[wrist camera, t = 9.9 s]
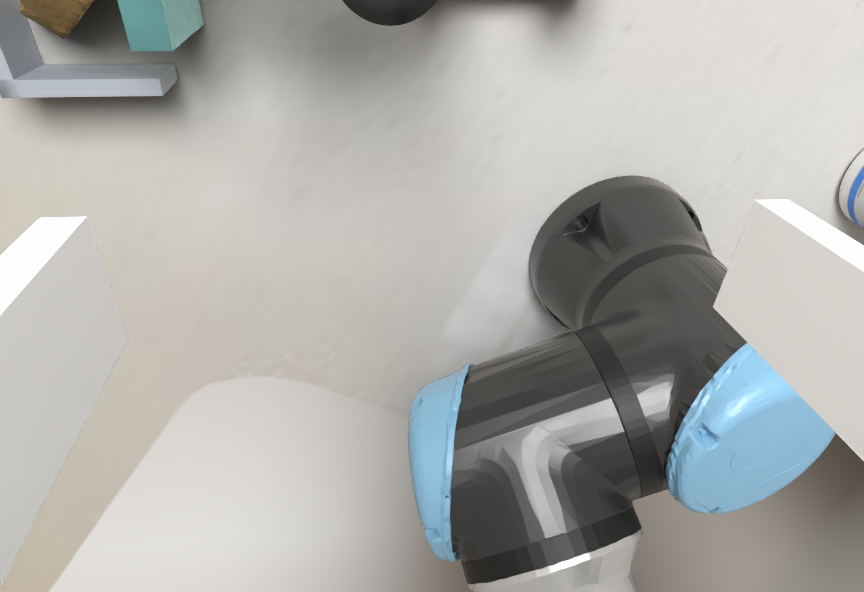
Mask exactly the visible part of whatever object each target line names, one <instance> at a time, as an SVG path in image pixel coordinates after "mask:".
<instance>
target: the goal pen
mask: <svg viewBox="0 0 864 592" xmlns="http://www.w3.org/2000/svg"><path fill="white" fill-rule="evenodd" d="M19 5H20V1H19V0H0V94H1V97H2V98H34V97H113V96H163V95H164V94H165V93H166V92H167V91H168V90H169V89H170V88H171V87H172V86H173V85H174V84H175V83H176V81H177V80H178V76H177V72H176V67H175V64H43V62H42V59H41V57H40V54H39V51H38V48H37V46H36V43H35V40H34V37H33V34H32V32H31V29H30V26H29V23H28V21H27V18H26V17H25V16H24V15H22V14H21V13H20V11H19Z"/></svg>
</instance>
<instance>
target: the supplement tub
mask: <svg viewBox="0 0 864 592" xmlns="http://www.w3.org/2000/svg"><path fill="white" fill-rule="evenodd" d="M839 203H840V207H841V209H842V211H843V213H844V214H845V216H846V217H848V218H849V219H850V220H852V221H853V222H855V223H857V224H858V225H860V226H862V227H863V228H864V150H863V151H862V152H861V153H860V154H859V155H858V156H857V157H856V158H855V160H854V161H853V162H852V164H851V165H850V166H849V168H848V170H847V172H846V173H845V175H844V178H843V180H842V183H841V186H840V190H839Z"/></svg>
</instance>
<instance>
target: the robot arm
mask: <svg viewBox="0 0 864 592" xmlns="http://www.w3.org/2000/svg"><path fill="white" fill-rule="evenodd" d="M529 273H530V279H531V283H532V286H533V289H534V291H535V293H536V295H537V297H538V299H539V300H540V302H541V304H542V306H543V307H544V309H545V310H546V311H547V313H548V314H549V315H550V316H551V317H552V318H553V319H554V320H556V321H557V322H558V323H560V324H561V325H563V326H565V327H567V328H569V329H571V330H572V332H569V333H567V334H564V335H561V336H558V337H555V338H553V339H550V340H547V341H544V342H541V343H538V344H535V345H532V346H529V347H526V348H524V349H521V350H518V351H515V352H512V353H509V354H506V355H503V356H500V357H497V358H495V359H492V360H489V361H486V362H483V363H480V364H477V365H474V366H473V364H468V365H466V366H464V367H463V368H462V370H461V371H458V372H456V373H453V374H451V375H448V376H446V377H443V378H441V379H438V380H436V381H433V382H431V383H429V384H427V385H425V386H424V387H423V388H421V389H420V390H419V392H418V393H417V394H416V396H415V398H414V400H413V402H412V405H411V408H410V414H409V422H408V446H409V460H410V469H411V476H412V483H413V489H414V494H415V500H416V504H417V509H418V513H419V517H420V520H421V523H422V525H423V526H424V528H425V533H426V538H427V542H428V544H429V547H430V549H431V550H432V552H433V554H434V555H435V556H436V557H437V558H438V559H440V560H448V561H449V562H454V561H457V560H458V559H460V560H461V563H462V566H463V570H464V573H465V577H466V580H467V583H468V587H469V589H470V590H472V591H473V592H641V590H640V587H639V585H638V582H637V580H636V577H635V575H634V572H633V570H632V569H633V559H634V557H635V554H636V551H637V549H638V546H639V544H640V541H641V539H642V536H643V534H644V532H643V529H642V527H641V524H640V522H639V520H638V517H637V515H636V512H635V510H634V507H633V504H632V501H633V500H636V499H638V498H641V497H644V496H648V495H651V494H654V493H657V492H660V491H663V490H667V489H668V490H669V491H670V493H671V495H673V496H674V498H675V500H677V501H679V502H681V503H682V504H683V505H684V506H685V507H686V508H688V509H690V510H692V511H695V512H698V513H703V514H704V513H705V514H706V513H708V512H709V511H710V512H711V513H715V514H722V513H727V512H732V511H735V510H738V509H742V508H745V507H747V506H750V505H752V504H754V503H756V502H759V501H761V500H762V499H764V498H766V497H768V496H770V495H772V494H774V493H775V492H777V491H779V490H780V489H782V488H783V487H784V486H786V485H787V484H789V483H790V482H791V481H793V480H794V479H795V478H796V477H798V476H799V475H800V474H801V473H802V472H804V471H805V470H806V469H807V468H808V467H809V466H810V465H811V464H812V463H813V462H814V460H816V459H817V458H818V457H819V456H820V454H821V453H822V452H823V451H824V450H825V448H826V447H827V446H828V444H829V443H830V441H831V440H832V438H833V437H834V435H835V433H837V434H838V435H839V436H840V437H841V438H842V439H843V440H844V441H845V443H847V445H848V446H849V447H850V448H851V449H852V450H853V451H854V452H855V453H856V454H857V455H858V456H859V457H860V458H861V459H862V460H863V461H864V245H862V244H860V243H859V242H857V241H855V240H854V239H852V238H851V237H849V236H847V235H846V234H844V233H842V232H841V231H839V230H837V229H836V228H834V227H832V226H831V225H829V224H828V223H826V222H824V221H823V220H821V219H819V218H818V217H816V216H814V215H813V214H811V213H810V212H808V211H806V210H805V209H803V208H801V207H800V206H798V205H796V204H795V203H793V202H791V201H790V200H788V199H783V200H755V202H754V205H753V207H752V210H751V212H750V215H749V217H748V220H747V222H746V225H745V227H744V230H743V232H742V235H741V237H740V240H739V242H738V245H737V247H736V250H735V253H734V255H733V258H732V260H731V263H730V265H729V268H728V269H727V268H726V267H725V266H724V265H723V264H722V263H721V262H719V261H718V260H717V259H716V258H715V257H714V256H713V255H712V252H711V250H710V247H709V244H708V242H707V239H706V237H705V235H704V233H703V232H702V227H701V224H700V221H699V219H698V217H697V215H696V213H695V211H694V210H693V208H692V207H691V206H690V204H689V203H688V202H687V201H686V200H685V199H684V198H682V197H681V196H680V195H679V194H678V193H676V192H675V191H674V190H673V189H672V188H670V187H669V186H667V185H666V184H664V183H662V182H660V181H658V180H655V179H651V178H648V177H642V176H622V177H615V178H611V179H607V180H603V181H600V182H598V183H595V184H593V185H590V186H588V187H586V188H584V189H583V190H581V191H579V192H577V193H576V194H574V195H573V196H571V197H570V198H569V199H567V200H566V201H565V202H564V203H563V204H561V205H560V206H559V207H558V208H557V209H556V210H555V211H554V212H553V213H552V214H551V216H550V217H549V218H548V219H547V221H546V222H545V224H544V225H543V226H542V228H541V230H540V231H539V233H538V235H537V237H536V240H535V242H534V245H533V247H532V251H531V255H530V263H529ZM127 340H128V335H127V332H126V330H125V327H124V324H123V321H122V318H121V315H120V312H119V309H118V307H117V304H116V301H115V298H114V295H113V292H112V289H111V286H110V284H109V281H108V278H107V275H106V272H105V269H104V266H103V263H102V261H101V258H100V255H99V252H98V249H97V246H96V243H95V240H94V238H93V235H92V232H91V229H90V226H89V223H88V220H87V217H56V218H39V219H38V220H37V221H36V222H35V223H34V224H33V225H32V226H31V227H30V228H29V229H28V230H27V231H26V232H25V233H23V234H22V235H21V236H20V237H19V238H18V239H17V240H16V241H15V242H14V243H13V244H12V245H11V246H10V247H9V248H8V249H7V250H6V251H5V252H4V253H3V254H2V255H1V256H0V587H1V585H2V583H3V581H4V579H5V578H6V576H7V574H8V572H9V570H10V568H11V566H12V564H13V562H14V560H15V558H16V556H17V554H18V552H19V550H20V548H21V546H22V544H23V543H24V541H25V539H26V537H27V535H28V533H29V531H30V529H31V527H32V525H33V523H34V521H35V519H36V517H37V515H38V513H39V511H40V509H41V508H42V506H43V504H44V502H45V500H46V498H47V496H48V494H49V492H50V490H51V488H52V486H53V484H54V482H55V480H56V478H57V476H58V474H59V473H60V471H61V469H62V467H63V465H64V463H65V461H66V459H67V457H68V455H69V453H70V451H71V449H72V447H73V445H74V443H75V441H76V439H77V438H78V436H79V434H80V432H81V430H82V428H83V426H84V424H85V422H86V420H87V418H88V416H89V414H90V412H91V410H92V408H93V406H94V404H95V403H96V401H97V399H98V397H99V395H100V393H101V391H102V389H103V387H104V385H105V383H106V381H107V379H108V377H109V375H110V373H111V371H112V369H113V368H114V366H115V364H116V362H117V360H118V358H119V356H120V354H121V352H122V350H123V348H124V346H125V344H126V342H127Z"/></svg>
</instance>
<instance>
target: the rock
mask: <svg viewBox="0 0 864 592" xmlns="http://www.w3.org/2000/svg"><path fill="white" fill-rule="evenodd" d="M19 1H20V5H19V11H20V13H21V14H22V15H24V16H25V17H27V18H29V19H31V20H33V21H35V22H37V23H39V24H41V25H42V26H44V27H46V28H47V29H49V30H50V31H52V32H54V33H55V34H57V35H59V36H60V37H62V38H63V39H64V38H65V37H66V36H67V35H68V34H69V33H70V32H71V30H72V28H73V27H75V26H76V25H77V23H78V22H79V20H80V19H81V18H82V16H83V15H84V13H85V11H86V10H87V9H89V7H90V5H91V3H92V2H93V1H94V0H19Z"/></svg>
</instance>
